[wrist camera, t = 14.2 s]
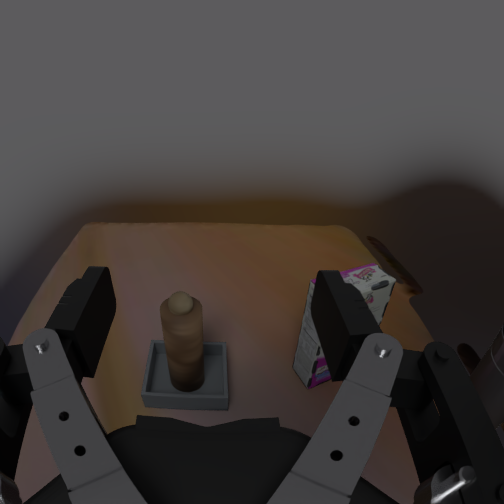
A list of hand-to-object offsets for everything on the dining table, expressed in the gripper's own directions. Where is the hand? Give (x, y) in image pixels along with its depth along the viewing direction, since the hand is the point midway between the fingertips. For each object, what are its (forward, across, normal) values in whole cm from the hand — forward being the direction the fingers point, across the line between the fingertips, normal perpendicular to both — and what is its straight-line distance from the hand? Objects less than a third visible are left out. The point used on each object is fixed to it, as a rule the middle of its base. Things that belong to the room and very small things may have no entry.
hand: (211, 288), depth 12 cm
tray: (+18, +4, +30) cm, 35 cm away
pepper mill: (+18, +4, +29) cm, 34 cm away
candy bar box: (+20, -17, +30) cm, 40 cm away
